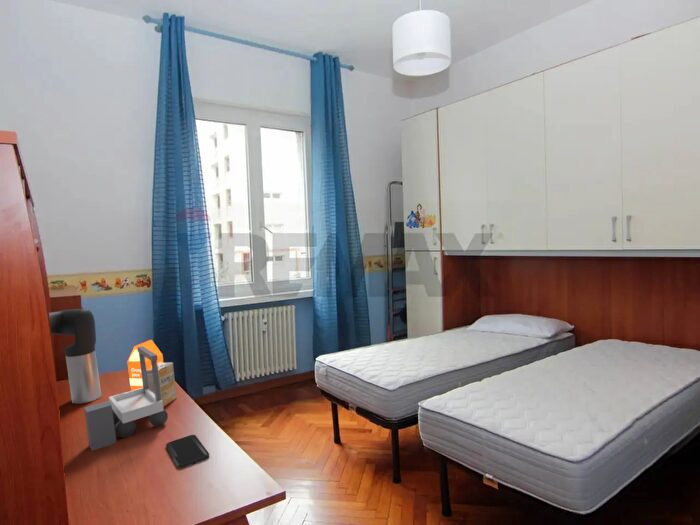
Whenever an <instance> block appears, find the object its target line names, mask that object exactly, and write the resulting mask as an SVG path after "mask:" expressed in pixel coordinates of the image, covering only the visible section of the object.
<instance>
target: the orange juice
mask: <svg viewBox="0 0 700 525" xmlns="http://www.w3.org/2000/svg"><path fill="white" fill-rule="evenodd" d="M140 346H144V347H145V348H147V349H148V350H150V351H152V352H153V353H155V354H156V355H157V359H158V360H157V365H158V364H160V363H164V356H163V355H164V354H163V353H162V352H161V351H160V349H159V347H158V346H157V345H156V344H155V343H154V341H153V340H152V339H149V340H146V341H145V342H141V343H139V344H137V345H134V347H133V349H132V351H131V353H130V355H129V357H128V360H127V368H128V369H127V370H128V377H129V378H128V379H129V385H130V391H132V390H135V389H139V388H143V382H142V374H141V366H140V358H139V352H138V348H137V347H140ZM145 362H146V370H148V369H150V368H152V365H151V361H150V360H149V359H147V358H146V357H145Z"/></svg>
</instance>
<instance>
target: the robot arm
mask: <svg viewBox="0 0 700 525" xmlns="http://www.w3.org/2000/svg"><path fill="white" fill-rule="evenodd" d="M48 313H49V318H50V325H51V333H52V334H51V335H61V336H74V342H73V343H72V344H70V345H67V346H66V347H65V348H64V355H65V360H66V362H65V363H66V368H67V377H68V383H69V390H70V391H69V392H70V397H71V403H72V404H74V403H75V404H76V405H79V404H80V405H81V404H86V403H90V402H93V401H96V400H98V399H99V398H101V397H102V392H101V391H102V390H101V383H100V375H99V369H98V362H97V352H96V342H97V334H96V321H95V316H94V314H93V312H92V310H90V309H88V308H74V309H73V308H72V309H64V310H58V311H52V312H48ZM75 404H74V405H75Z"/></svg>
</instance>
